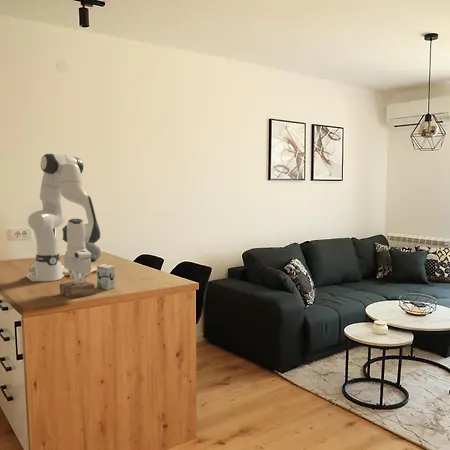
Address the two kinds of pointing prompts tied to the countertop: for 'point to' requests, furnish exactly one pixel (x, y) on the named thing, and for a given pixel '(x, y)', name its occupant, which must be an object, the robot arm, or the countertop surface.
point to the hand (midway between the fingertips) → (77, 279)
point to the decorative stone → (93, 250)
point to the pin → (77, 278)
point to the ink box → (105, 276)
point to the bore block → (77, 289)
